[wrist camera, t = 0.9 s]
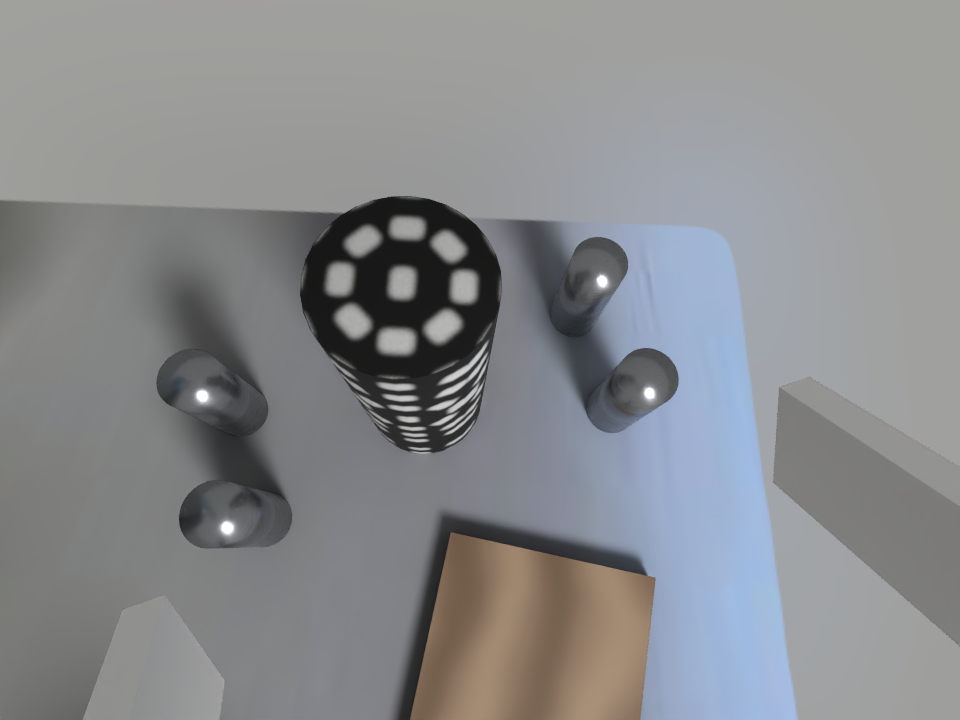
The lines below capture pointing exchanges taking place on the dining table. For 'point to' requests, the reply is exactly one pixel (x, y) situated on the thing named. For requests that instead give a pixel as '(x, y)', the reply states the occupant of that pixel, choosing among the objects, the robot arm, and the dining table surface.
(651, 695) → the dining table surface
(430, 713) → the square wooden board
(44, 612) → the dining table surface
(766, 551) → the dining table surface
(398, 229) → the spotted tube
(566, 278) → the spacer posts
